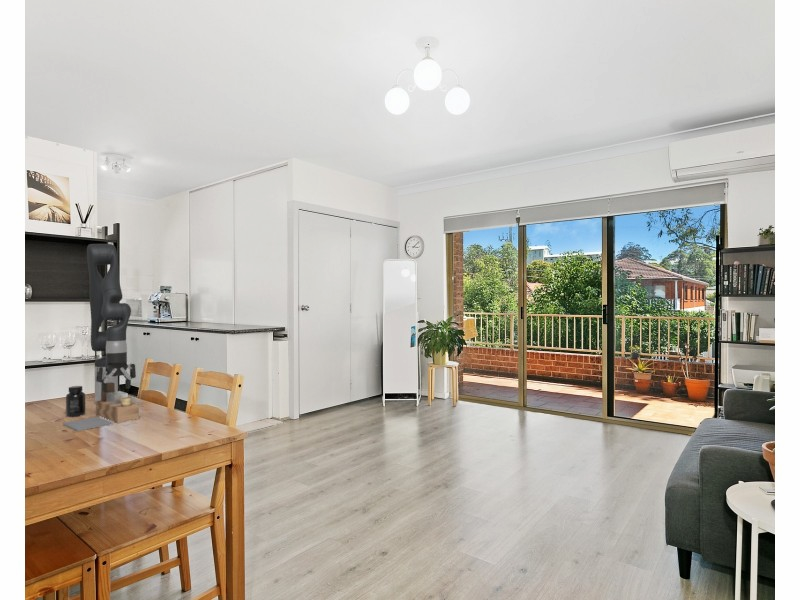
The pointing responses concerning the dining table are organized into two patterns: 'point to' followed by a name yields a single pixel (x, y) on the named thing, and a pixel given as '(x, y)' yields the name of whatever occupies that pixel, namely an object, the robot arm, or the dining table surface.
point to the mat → (87, 423)
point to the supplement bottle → (75, 402)
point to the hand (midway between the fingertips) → (116, 390)
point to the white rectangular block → (115, 397)
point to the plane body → (116, 407)
